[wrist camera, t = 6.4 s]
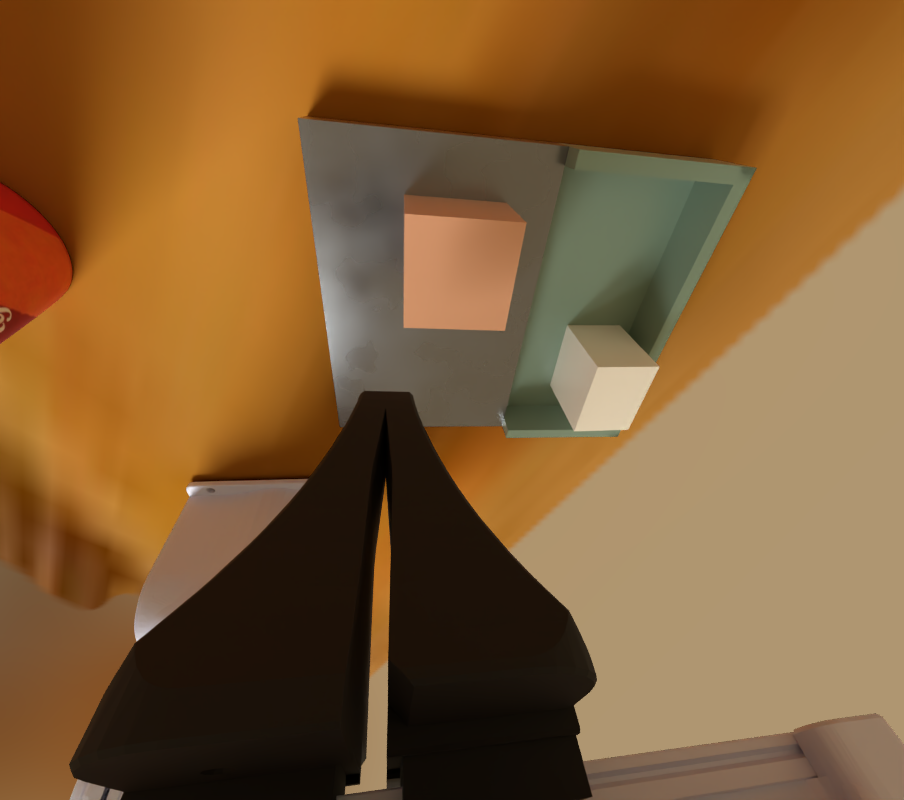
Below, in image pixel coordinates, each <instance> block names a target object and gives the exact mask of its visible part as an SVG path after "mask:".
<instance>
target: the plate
mask: <svg viewBox="0 0 904 800" xmlns="http://www.w3.org/2000/svg"><path fill="white" fill-rule="evenodd" d="M298 123H299V131H300V138H301V146H302V153H303V160H304V168H305V175H306V182H307V190H308V197H309V204H310V212H311V219H312V226H313V234H314V241H315V249H316V256H317V263H318V271H319V278H320V285H321V293H322V300H323V307H324V315H325V322H326V329H327V337H328V344H329V352H330V359H331V366H332V374H333V381H334V388H335V396H336V403H337V410H338V418H339V425H340V427H344V426H345V424H346V423H347V421H348V419H349V417H350V415H351V413H352V411H353V409H354V407H355V405H356V403H357V401H358V398H359V396H360V394H361V393H362V392H363V391H396V392H410V393H411V394H412V395H413V397H414V401H415V405H416V408H417V411H418V414H419V416H420V419H421V421H422V424H423V426H424V427H438V426H503V421H504V417H505V413H506V409H507V405H508V401H509V396H510V392H511V388H512V384H513V380H514V376H515V371H516V367H517V363H518V359H519V355H520V351H521V346H522V342H523V338H524V334H525V330H526V326H527V321H528V317H529V313H530V309H531V305H532V301H533V296H534V292H535V288H536V284H537V280H538V276H539V271H540V267H541V263H542V259H543V255H544V251H545V246H546V242H547V238H548V234H549V230H550V226H551V221H552V217H553V213H554V209H555V205H556V201H557V196H558V192H559V188H560V184H561V180H562V176H563V171H564V167H565V163H566V159H567V155H568V151H569V146H566V145H563V144H559V143H555V142H546V141H536V140H527V139H518V138H508V137H499V136H489V135H480V134H470V133H461V132H451V131H442V130H432V129H423V128H414V127H404V126H395V125H385V124H376V123H366V122H357V121H347V120H338V119H328V118H319V117H309V116H305V117H300V118H298ZM404 195H416V196H429V197H441V198H454V199H466V200H478V201H491V202H503V203H507V204H508V205H509V206H510V207H511V208H512V209H513V210H514V211H515V212H516V213H517V214H518V215H519V216H520V217H521V218H522V219H523V220H524V221H525V222H526V223H527V224H526V228H525V233H524V238H523V243H522V248H521V253H520V258H519V263H518V268H517V273H516V278H515V283H514V288H513V293H512V298H511V303H510V308H509V313H508V318H507V323H506V328H505V331H493V330H460V329H427V328H404V327H403V250H404Z"/></svg>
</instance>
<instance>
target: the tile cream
mask: <svg viewBox="0 0 904 800" xmlns="http://www.w3.org/2000/svg"><path fill="white" fill-rule="evenodd" d="M658 369H659V366H658V365H657V364H656V363H655V361H654V360H653V359H652V358H651V357H650V356H649V355H648V354H647V353H646V352H645V351H644V350H643V349H642V348H641V347H640V346H639V345H638V344H637V343H636V342H635V341H634V340H633V339H632V338H631V336H630V335H629V334H628V333H627V332H626V331H625V330H624V329H623V328H622V327H621V326H620V325H567V327H566V331H565V334H564V338H563V341H562V345H561V348H560V352H559V356H558V359H557V363H556V366H555V370H554V373H553V377H552V380H551V384H550V386H551V388H552V390H553V392H554V394H555V396H556V398H557V400H558V401H559V403H560V405H561V407H562V409H563V411H564V413H565V415H566V417H567V419H568V421H569V423H570V425H571V427H572V428H573V430H574V431H604V430H628V429H629V427H630V425H631V423H632V421H633V419H634V417H635V415H636V413H637V411H638V409H639V407H640V405H641V403H642V401H643V399H644V397H645V395H646V393H647V391H648V389H649V387H650V385H651V383H652V381H653V379H654V377H655V375H656V373H657V371H658Z"/></svg>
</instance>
